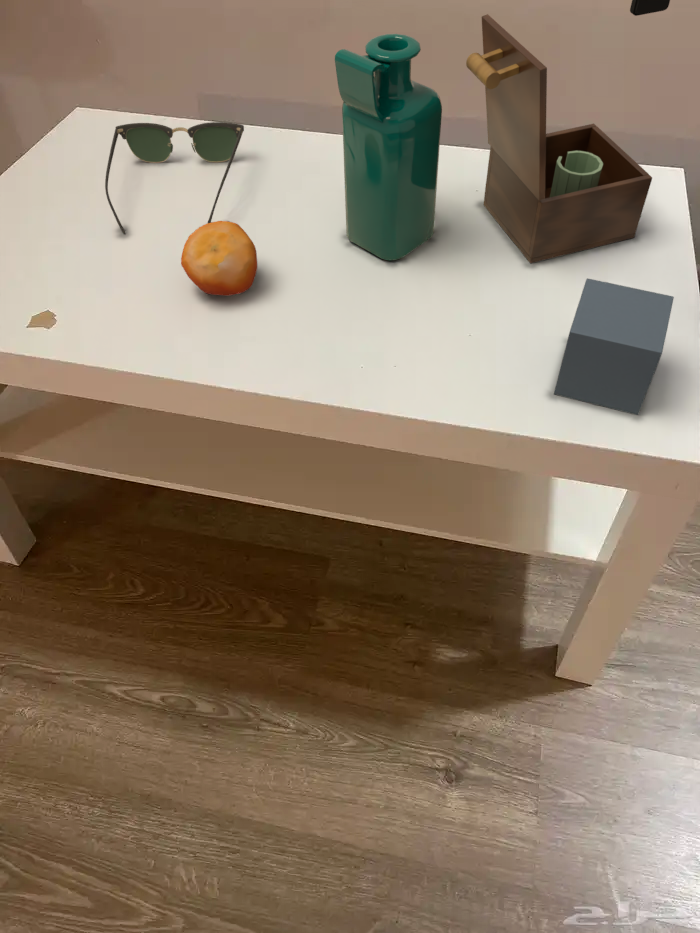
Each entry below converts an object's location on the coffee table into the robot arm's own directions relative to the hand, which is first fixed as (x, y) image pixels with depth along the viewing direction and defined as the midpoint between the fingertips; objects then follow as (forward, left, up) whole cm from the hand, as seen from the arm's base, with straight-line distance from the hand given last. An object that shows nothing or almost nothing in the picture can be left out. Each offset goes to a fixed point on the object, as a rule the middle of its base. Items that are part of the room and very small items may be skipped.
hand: (683, 36), depth 60 cm
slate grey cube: (-2, +8, -28) cm, 29 cm away
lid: (+14, -11, -13) cm, 22 cm away
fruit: (+40, +8, -28) cm, 50 cm away
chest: (+8, -16, -28) cm, 33 cm away
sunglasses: (+54, -6, -28) cm, 61 cm away
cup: (+7, -17, -28) cm, 33 cm away
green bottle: (+26, -6, -28) cm, 39 cm away
